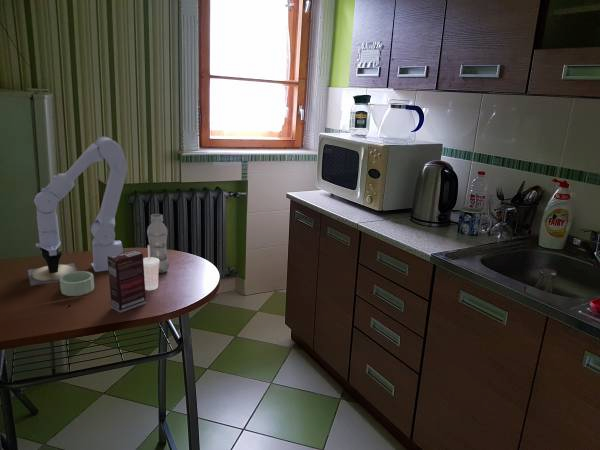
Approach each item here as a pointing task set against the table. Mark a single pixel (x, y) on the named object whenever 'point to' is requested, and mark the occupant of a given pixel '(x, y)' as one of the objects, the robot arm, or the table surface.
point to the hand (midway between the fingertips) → (53, 269)
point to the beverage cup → (151, 271)
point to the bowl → (76, 283)
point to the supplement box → (126, 280)
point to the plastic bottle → (158, 241)
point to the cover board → (45, 274)
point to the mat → (37, 282)
